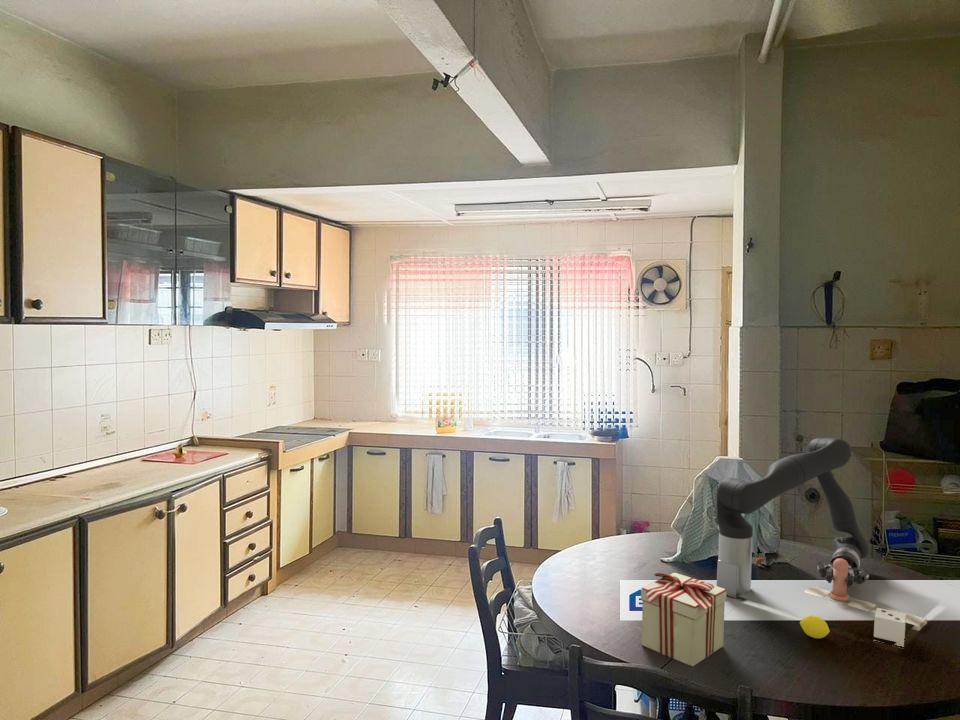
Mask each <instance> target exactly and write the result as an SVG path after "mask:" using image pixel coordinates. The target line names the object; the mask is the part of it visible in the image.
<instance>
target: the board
mask: <svg viewBox="0 0 960 720" xmlns="http://www.w3.org/2000/svg"><path fill="white" fill-rule="evenodd" d="M830 592H831V591H830V590H826V589H823V588H820V587H816V586H810V587H809V588H807V589H805V590H804V591H803V593H805V594H808V595H811V596H815V597H818V598H821V599H823V598H824V599H825V600H828V601H832V602H835V603H839V604H842V605H846V606H849V607H852V608H855V609H859V610H862V611H865V612H869V613H872V614H875V613H876V609H877V608H881V609H886V610H891V611H896V612H901V611H900V610H896V609H893V608H889V607H886V606H883V605H878V604H876V603H872V602H868V601H865V600H861V599H859V598H855V597H852V596H849V601H847V602H840V601H836V600H833V599H831V598H830ZM901 613H906V623H905V624H909V625H913V626H912V627H911V630H914V631H917V632H919V631H921V629H923V627H924V626H926V625H927V624H928V619H927V618H925V617H921V616H917V615H914V614H911V613H907V612H904V611H902V612H901Z"/></svg>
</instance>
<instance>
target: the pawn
mask: <svg viewBox="0 0 960 720" xmlns="http://www.w3.org/2000/svg"><path fill="white" fill-rule="evenodd" d="M833 567H834V570H833V579H832V590H831V591H830V594H829V595H830V598H831V599H833V600H836V601H840V602H847V601H849V597H850V595H849V594H848V593H847V592H848V587H847V577H848V568H849V565H848V562H847V561H846V560H844V559H842V558H838V559H836V560H835V561H834V562H833Z"/></svg>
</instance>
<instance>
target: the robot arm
mask: <svg viewBox="0 0 960 720" xmlns="http://www.w3.org/2000/svg"><path fill="white" fill-rule="evenodd" d="M807 449H808V450H807V452H803V453H796V454H791V455H788V456H786V457H783V458H780V459H778V460H776V461H774V462H773V463H771V464H770V465H769V466H768V468H767V469H766V472H765V475H764V477H763V478H761V479H758V480H755V481H752V482H751V481H746V480H742V479H738V478H734V477H726V478H723V479H722V480H721V481H720V483H719V485H718V487H717V491H716V523H717V525H718V529H719V530H718V556H717V558H718V559H717V565H716V586H718V587H721V588H724V589H726V596H727V595H728V596H727V597H731V598H734V599H737V598H740V596H742V595H744V594H748V593H750V592H751V590H752V589H751V585H752V562H753V561H752V560H753V533H754V532H753V531H754V530H753V529H754V528H753V526H752V524H751V523H749V521H747V520H746V519H745V517H743V515H749V514H752V513H754V512H756V511H758V510H759V509H760V508H762V507H764V506H765V505H767V504H768V503H769V502H771V501H772V500H774V499H776V498H777V497H780V496H781V495H783V494H785V493H787V492H789V491H791V490H794V489H795V488H798V487H800V486H801V485H803V484H805V483H807V482H809V481H811V480H812V479H815V478H817V481H818V483H819V485H820V488H821V490H822V492H823V494H824V497H825V500H826V503H827V507H828V511H829V514H830V515H829V516H830V520H831V524H832V526H833V528H834V530H835V531H837V532H842V533H847V534H849V535H851V536H838V537H835V538H834V539H833V540H832V543H831V548H832V552H833V555H832V557H831V559H830V562H829V563H827V564H824V563H823V562H821V561H818V562H817V567H816V568H817V570H816V571H817V573H818V574H819V577H821V578H825V581H826V582H827V583H828V584H831V583H833V570H834V567H833V562H834V561H835V560H836V559H838V558H842V559H844V560H846V561H847V562H848V565H849V568H848V577H847V588H850V587H853V586H854V584H855V583H856V584H857V585H862V584H864V583H866V582H867V581H869V579H870V578H869V577H870V574H869V573H870V571H869V570H861V571H860V568H861V567H860V564H861V560H862V559H866V558H868V557H869V555H870V550H871V549H870V545H869V543H868V541H867V539H866V537H865V536H864V534H863V533H862V530H861V529H860V526H859V525H858V521H857V517H856V515H855V514H856V513H855V510H854V506H853V503H852V501H851V499H850V497H849V496H848V494H847V493H846V491H844V489H843V488H842V486H841V485H840V484H839V483H838V482H837V480H836V478H835V477H834V476H835V475H834V474H833V470H836V469H839V468H840V469H841V468H842V467H844V466H845V465H847V464H848V463H849V461H850V460H851V457H852V448H851V446H850V444H849V443H848V442H847V441H846V440H844V439H843V438H842V439H841V438H838V437H834V438H833V437H817V438H813V439H812V440H811V441H810V442H809V444H808V447H807Z"/></svg>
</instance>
